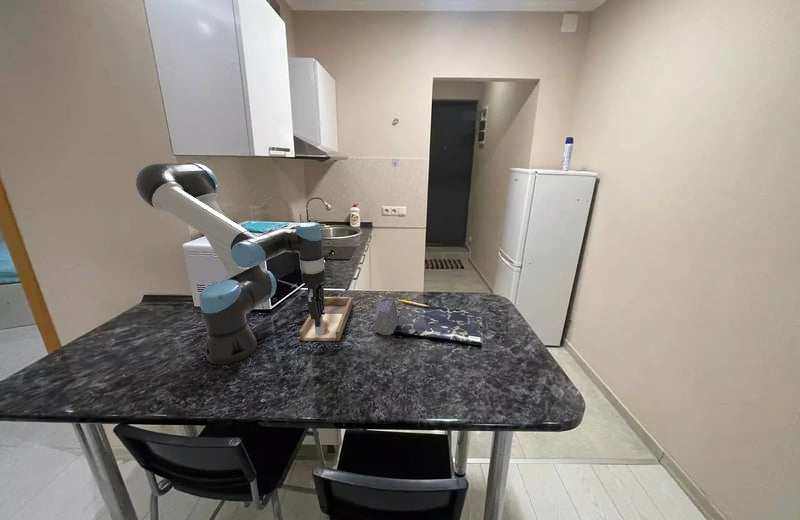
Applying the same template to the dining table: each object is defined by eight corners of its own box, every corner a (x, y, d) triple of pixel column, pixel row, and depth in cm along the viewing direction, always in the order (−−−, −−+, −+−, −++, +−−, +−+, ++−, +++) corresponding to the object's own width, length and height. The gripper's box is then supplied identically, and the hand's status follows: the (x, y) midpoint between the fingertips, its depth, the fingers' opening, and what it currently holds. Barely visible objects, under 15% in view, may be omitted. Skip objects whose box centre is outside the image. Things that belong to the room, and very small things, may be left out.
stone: (379, 324, 121) (403, 319, 119) (375, 342, 113) (400, 337, 110) (368, 301, 116) (392, 295, 114) (363, 318, 107) (389, 312, 105)
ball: (316, 333, 110) (315, 323, 109) (319, 327, 114) (318, 317, 113) (327, 333, 110) (326, 323, 109) (330, 327, 114) (329, 317, 113)
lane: (300, 340, 108) (299, 331, 107) (321, 304, 134) (320, 297, 133) (339, 340, 108) (338, 331, 107) (352, 304, 134) (352, 297, 133)
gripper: (318, 277, 94) (325, 343, 101) (329, 263, 106) (334, 323, 113) (294, 277, 94) (303, 343, 101) (308, 263, 106) (315, 323, 114)
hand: (320, 332), depth 107 cm, fingers closed
